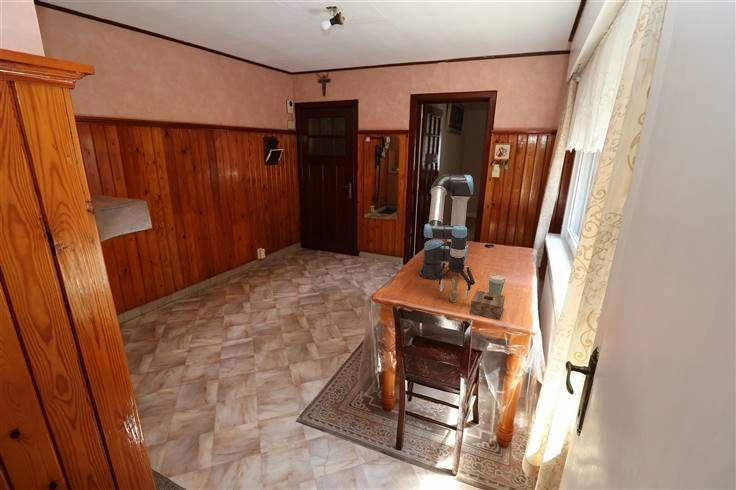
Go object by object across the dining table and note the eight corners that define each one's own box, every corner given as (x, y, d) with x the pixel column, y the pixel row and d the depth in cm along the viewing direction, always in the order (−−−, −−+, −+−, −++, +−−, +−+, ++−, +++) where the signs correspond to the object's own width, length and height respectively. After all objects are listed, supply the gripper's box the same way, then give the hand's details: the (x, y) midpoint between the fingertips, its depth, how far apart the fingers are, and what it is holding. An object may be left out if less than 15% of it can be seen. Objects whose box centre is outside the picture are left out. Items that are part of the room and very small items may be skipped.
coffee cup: (498, 293, 191) (501, 274, 188) (505, 300, 183) (508, 280, 179) (484, 293, 191) (486, 274, 187) (489, 300, 182) (492, 280, 179)
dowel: (449, 301, 180) (451, 277, 176) (450, 299, 183) (452, 275, 179) (455, 303, 179) (457, 278, 175) (456, 300, 181) (458, 276, 177)
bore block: (470, 313, 168) (471, 300, 166) (475, 302, 180) (476, 290, 178) (499, 319, 162) (501, 306, 160) (503, 308, 174) (504, 295, 172)
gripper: (431, 253, 176) (429, 290, 182) (480, 261, 165) (476, 300, 171) (436, 250, 182) (433, 286, 188) (483, 257, 171) (478, 295, 177)
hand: (453, 293), depth 179 cm, fingers open, 13 cm apart
